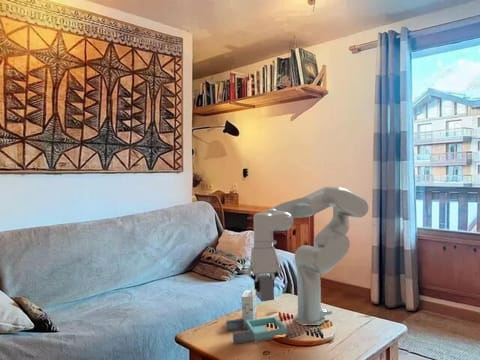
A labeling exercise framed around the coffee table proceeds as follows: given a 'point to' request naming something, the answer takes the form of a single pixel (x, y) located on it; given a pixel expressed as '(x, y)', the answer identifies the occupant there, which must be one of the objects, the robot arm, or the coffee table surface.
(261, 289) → the grey upright block
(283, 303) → the coffee table surface
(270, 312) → the coffee table surface
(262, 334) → the tray
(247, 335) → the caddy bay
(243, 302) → the ink cartridge box
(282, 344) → the coffee table surface
